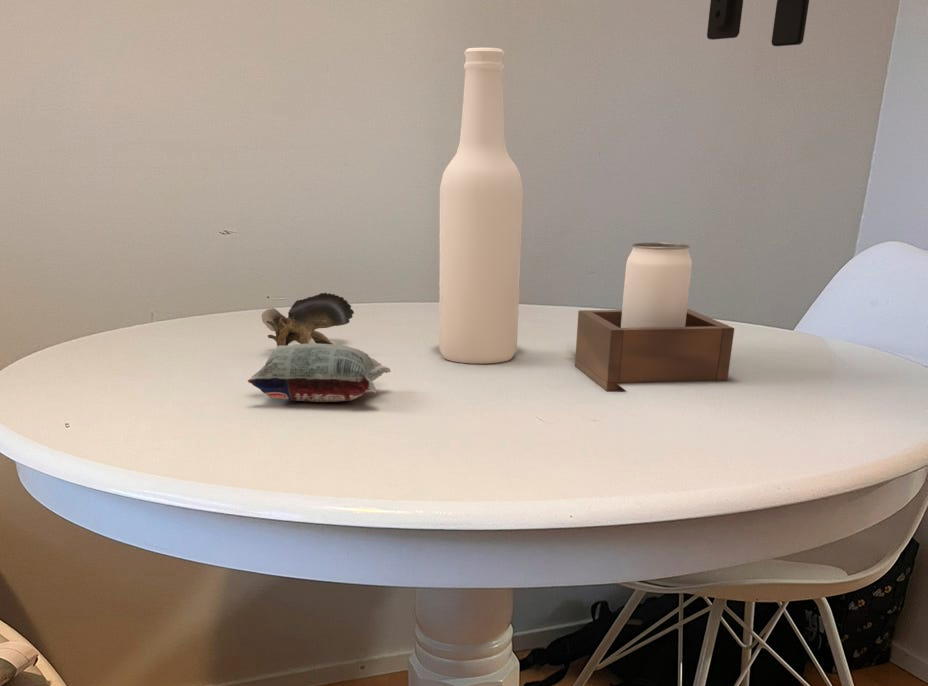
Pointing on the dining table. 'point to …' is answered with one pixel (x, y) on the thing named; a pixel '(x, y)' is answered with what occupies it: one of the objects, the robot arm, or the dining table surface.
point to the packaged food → (317, 373)
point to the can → (656, 285)
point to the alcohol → (480, 225)
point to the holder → (651, 350)
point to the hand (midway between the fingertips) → (755, 41)
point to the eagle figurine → (308, 319)
